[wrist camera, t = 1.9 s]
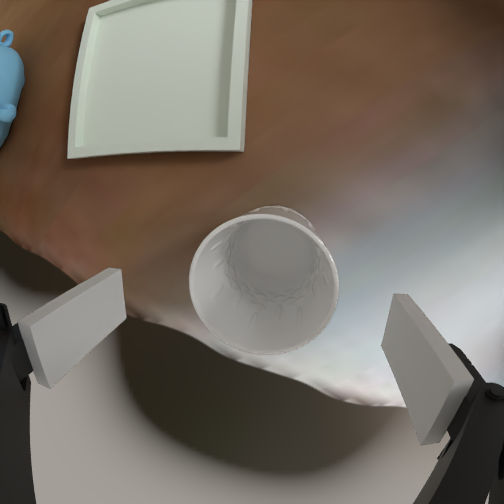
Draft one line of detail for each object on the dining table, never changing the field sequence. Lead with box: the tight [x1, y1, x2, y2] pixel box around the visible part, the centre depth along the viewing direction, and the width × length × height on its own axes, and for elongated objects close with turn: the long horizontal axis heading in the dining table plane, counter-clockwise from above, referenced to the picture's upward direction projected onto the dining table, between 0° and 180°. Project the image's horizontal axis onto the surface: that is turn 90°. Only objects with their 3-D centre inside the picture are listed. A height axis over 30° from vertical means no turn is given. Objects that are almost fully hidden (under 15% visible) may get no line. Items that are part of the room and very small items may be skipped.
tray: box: [67, 0, 252, 159], centre depth 21 cm, size 17×17×2 cm
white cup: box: [189, 205, 339, 355], centre depth 20 cm, size 8×8×10 cm
